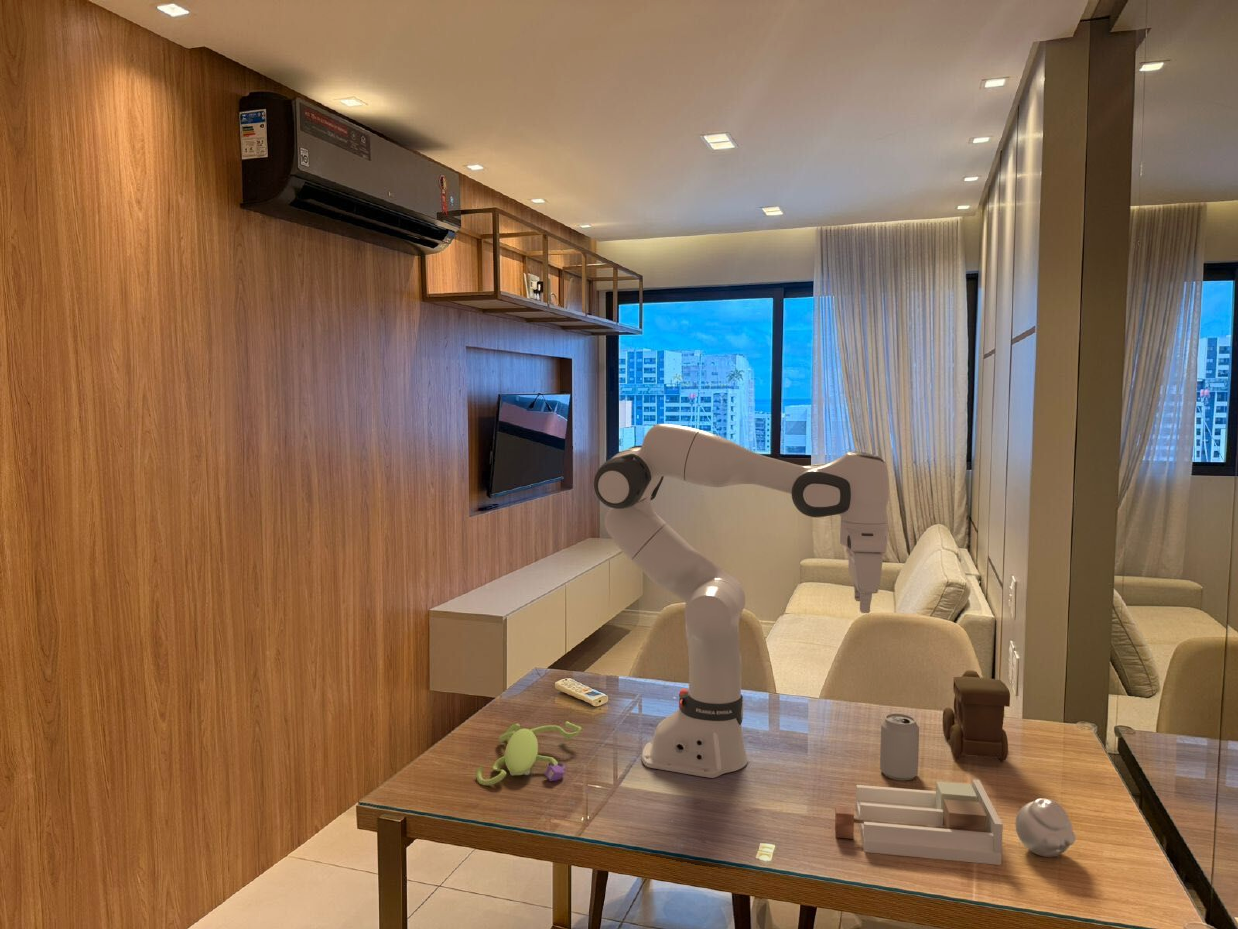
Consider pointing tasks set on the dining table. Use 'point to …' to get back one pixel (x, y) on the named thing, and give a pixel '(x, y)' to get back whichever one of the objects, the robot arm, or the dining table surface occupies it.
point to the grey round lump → (1044, 828)
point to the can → (899, 746)
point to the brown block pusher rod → (954, 817)
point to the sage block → (953, 793)
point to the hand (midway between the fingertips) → (861, 606)
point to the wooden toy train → (977, 717)
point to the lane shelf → (924, 839)
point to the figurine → (526, 753)
